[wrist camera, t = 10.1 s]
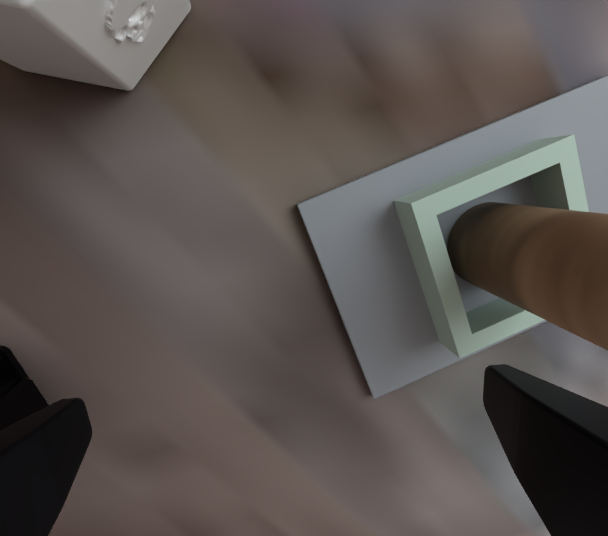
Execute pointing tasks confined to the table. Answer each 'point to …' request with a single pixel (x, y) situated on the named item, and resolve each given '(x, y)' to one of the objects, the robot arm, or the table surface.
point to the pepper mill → (538, 262)
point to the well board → (436, 229)
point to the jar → (88, 37)
